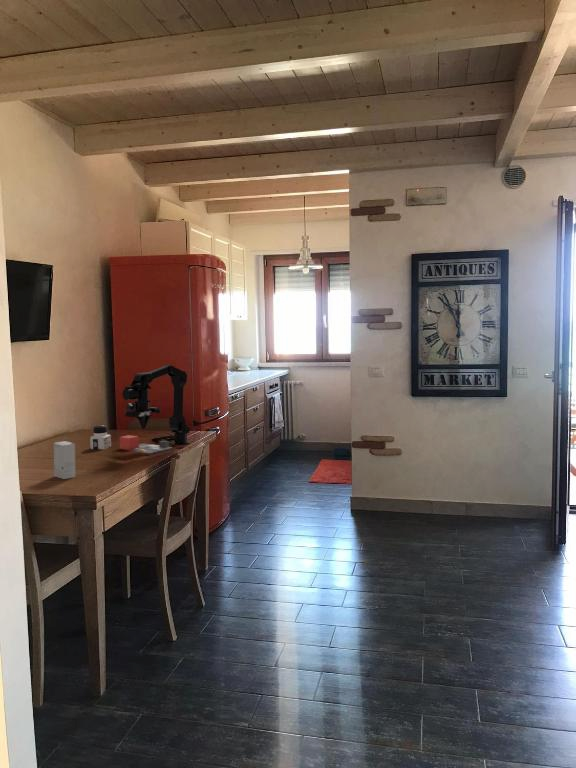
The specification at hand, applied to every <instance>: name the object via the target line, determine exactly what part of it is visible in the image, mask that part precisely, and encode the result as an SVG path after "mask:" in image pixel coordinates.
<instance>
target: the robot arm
mask: <svg viewBox="0 0 576 768" xmlns="http://www.w3.org/2000/svg"><path fill="white" fill-rule="evenodd" d="M187 374H188V373H186V371H184V370H181V369H179V368H177V367H175V366H174V365H172V364H165V365H163V366H161V367H159V368H155V369H153V370H151V371H148V372H139V373H136V374H135V375H134V377H133V380H132V381H131V383H130V385H129V386H124V389H123V390H122V394H121V395H122V398H123V400H125V401H130V400H134V403H131V402H129V403H128V402H127V403H126V405H125V408H126V411H125V417H126V418H127V417H128V418H136V419H137V420H138V422H139V424H140V427H141V429H142V430H145V429H146V427H147V425H148V422H149V421H150V418H152V416H153V415H152V414H151V413H154V414H160V411H161V409H160V408H159V407H156V406H149V403H150V402H151V400H150V399H149V390H151V389H152V387H151V386H150V385H149V384H151V383H152V382H153V381H154V380H156V379H158V378H160V377H163V376H165V375H167V376H168V377H169V378H170V381H171V384H172V386H173V409H172V410H173V413H172V415H171V416H170V417H169V418H168V425H169V428H170V429H171V432H172V433H174V436H173V437H174V439H173V440H174V441H173V443H172V445H179V446H184V445H187V444H190V441H188V434H189V433H190V431H191V430H190V429H191V428H190V427H189V426H188V425H187V423H186V418H185V416H184V387H185V385H186V384H187V380H188V375H187Z"/></svg>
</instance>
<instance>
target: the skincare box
mask: <svg viewBox="0 0 576 768" xmlns="http://www.w3.org/2000/svg"><path fill="white" fill-rule="evenodd" d="M53 477H55V478H59V479H62V480H66V479H67V480H68V479H71V478H75V477H76V444H75V443H73V442H71V441H65V440H63V441H56V442H53Z"/></svg>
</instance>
